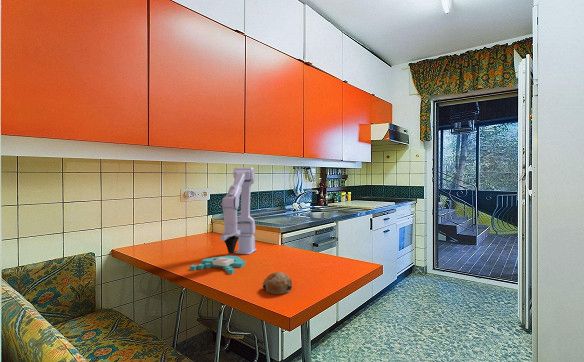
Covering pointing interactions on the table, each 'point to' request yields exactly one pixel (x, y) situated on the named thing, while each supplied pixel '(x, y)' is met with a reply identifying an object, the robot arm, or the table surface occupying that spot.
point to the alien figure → (209, 263)
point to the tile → (223, 261)
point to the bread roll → (277, 283)
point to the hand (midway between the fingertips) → (231, 253)
